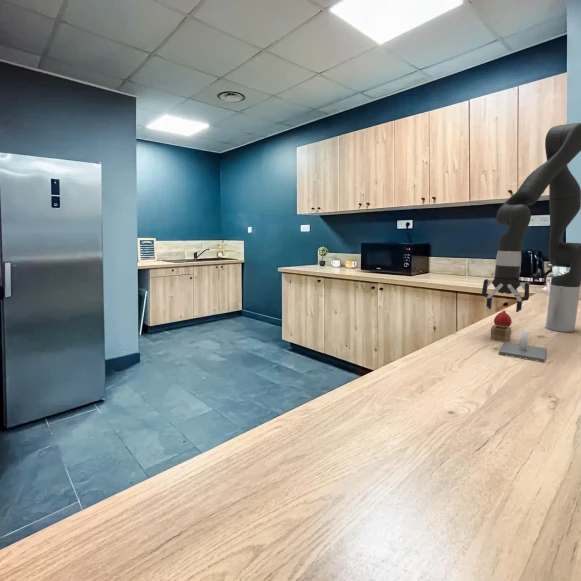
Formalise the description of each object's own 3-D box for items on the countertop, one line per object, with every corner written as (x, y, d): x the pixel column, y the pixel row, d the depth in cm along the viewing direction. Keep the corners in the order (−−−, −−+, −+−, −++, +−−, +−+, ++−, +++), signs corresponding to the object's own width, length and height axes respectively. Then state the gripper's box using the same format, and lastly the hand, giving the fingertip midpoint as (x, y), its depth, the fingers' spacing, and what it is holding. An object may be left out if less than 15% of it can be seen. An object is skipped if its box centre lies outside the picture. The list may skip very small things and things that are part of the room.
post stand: (503, 344, 129) (505, 324, 127) (546, 351, 122) (548, 330, 121) (498, 354, 119) (500, 332, 118) (544, 362, 112) (547, 339, 111)
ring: (492, 335, 139) (493, 324, 139) (510, 337, 136) (511, 327, 135) (490, 339, 135) (491, 328, 134) (508, 341, 132) (509, 330, 131)
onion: (489, 329, 147) (491, 309, 146) (499, 327, 149) (501, 307, 148) (503, 333, 142) (505, 312, 140) (513, 331, 144) (516, 310, 143)
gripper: (533, 264, 129) (527, 311, 132) (486, 262, 138) (482, 305, 140) (531, 266, 123) (526, 315, 126) (483, 263, 132) (479, 309, 134)
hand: (503, 310), depth 133 cm, fingers open, 8 cm apart
